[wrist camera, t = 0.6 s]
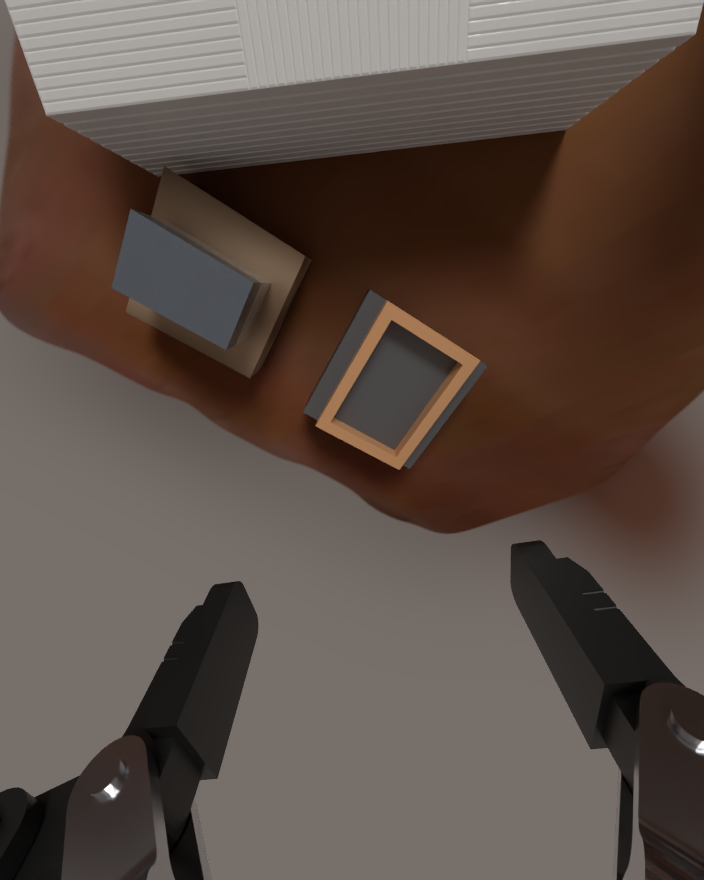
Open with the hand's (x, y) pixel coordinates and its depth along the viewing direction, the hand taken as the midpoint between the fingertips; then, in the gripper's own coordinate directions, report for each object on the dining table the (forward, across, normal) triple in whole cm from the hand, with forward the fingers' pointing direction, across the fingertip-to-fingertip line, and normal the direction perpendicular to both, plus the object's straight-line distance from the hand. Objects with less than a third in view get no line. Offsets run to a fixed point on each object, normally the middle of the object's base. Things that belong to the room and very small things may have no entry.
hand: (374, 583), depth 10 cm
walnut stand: (+26, +10, -10) cm, 29 cm away
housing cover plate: (+19, +10, -10) cm, 24 cm away
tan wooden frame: (+26, -3, +1) cm, 26 cm away
